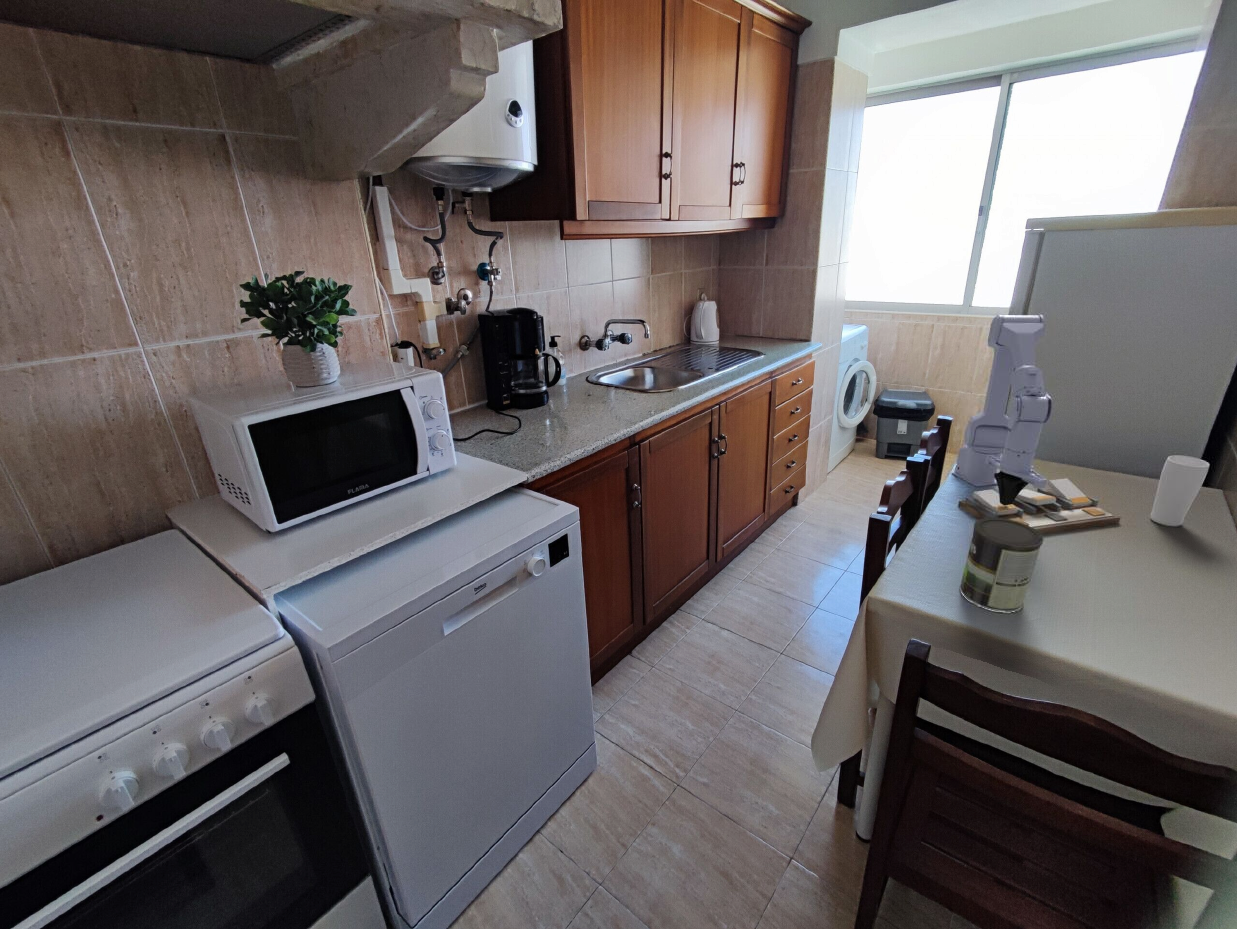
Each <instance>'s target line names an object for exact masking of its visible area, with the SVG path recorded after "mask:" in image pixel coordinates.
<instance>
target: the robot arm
mask: <svg viewBox="0 0 1237 929" xmlns="http://www.w3.org/2000/svg"><path fill="white" fill-rule="evenodd" d="M1046 323H1047V322H1046V318H1045V317H1044V315H1043V314H1037V315H1036V314H1035V315H1033V314H1032V315H1030V314H1028V315H1025V314H1023V315H1021V314H1016V315H1015V314H1005V315H1004V314H997V315H996V316H995V317H993V318H992V322H991V324H990V326H989V333H988V338H987V346H988V347H989V348H992V349H993V352H994V353H993V360H992V364H991V370H990V375H989V380H988V385H987V390H986V395H985V400H984V404H983V406H984V407H983V410H982V411H980V412H978V413H977V414H975V415H973V416H971V417H969V419H968V423H967V426H966V427H965V431H964V439H963V441H964V444H963V445H962V446H961V447H960V448H959V450H958V453H957V457H956V463H955V466H956V467H954V470H952V471H953V473H952V472H951V474H953V475H954V476H956V477H958V478H960V479H961V480H964V481H965V482H967V483H969V484H971V485H972V486H974V487H984V486H992V485H997V488H998V494H999V499H1000V503H1001V504H1003V505H1012V503H1013V501H1014V500H1015V498H1016V497H1017V495H1018V494H1019V493H1020V491H1021V490H1023V489H1025V487H1027V486H1028V485H1029V484H1030V485H1032V486H1033V488H1035V489H1036V490H1038V488H1042V489H1045V488H1046V485H1047V483H1048V479H1047V478H1044V477H1043V476H1041V475H1040V474H1039V473H1038V472H1037V471H1035V470H1034V466H1033V462H1034V459H1035V456H1036V452H1037V448H1038V443H1039V440H1040V436H1041V434H1042V429H1043V425H1044V424H1046V423H1048V422H1049V420H1050V419H1051V416H1052V412H1053V398H1052V397H1051V395H1049V392H1047V391H1045V384H1044V383H1045V382H1044V375H1043V371H1042V369H1040V368H1039V367H1036V346H1037V345H1038V344H1039V342H1040V340H1042V338H1043V336H1044V335H1045V331H1046V325H1047V324H1046ZM1010 390H1011V395H1012V396H1011V397H1012V399H1011V401H1010V404H1009V407H1008V408H1009V410H1008V415H1006V410H1007V406H1008V405H1007V404H1008V400H1009V395H1010ZM956 464H957V465H956ZM998 470H999V472H998Z"/></svg>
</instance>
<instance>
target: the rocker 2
mask: <svg viewBox="0 0 1237 929" xmlns="http://www.w3.org/2000/svg"><path fill="white" fill-rule="evenodd" d="M1046 485H1047V486H1048V487H1049V489H1052V490H1053V491H1054V492H1055V493H1056V494H1057V495H1058V496H1059V497H1061V498H1063V499H1065V500H1067V501H1070V502H1072V503H1074V506H1073V508H1075V507H1083V506H1089V505H1090V504H1091V503H1092V502H1091V501H1090V500H1089V499H1088V498H1087V497H1086V496H1085V495H1086V494H1085V493H1083V492H1082V491H1081V490H1080V489H1079V488H1078V487H1077V486H1076V485H1075V484H1074V483H1073V482H1072V481H1070V480H1069V479H1068V477H1066V478H1059V479H1058V478H1057V479H1049V480H1047V482H1046ZM1084 494H1085V495H1084Z"/></svg>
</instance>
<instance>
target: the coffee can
mask: <svg viewBox="0 0 1237 929" xmlns="http://www.w3.org/2000/svg"><path fill="white" fill-rule="evenodd" d="M1043 542H1044V537H1043V534H1040V533H1039V532H1038V531H1037V530H1035V529H1034V528H1032V527H1030V526H1028V525H1025V524H1023V523H1020V522H1017V521H1013V520H1008V519H1002V518H985V519H978V520H977V521H975V522H974V525H973V532H972V536H971V541H970V545H969V549H968V554H967V557H966V562H965V564H964V570H963V574H962V578H961V583H960V586H959V588H960V590H961V592H962V593H963V594H964V596H965V597H966V598H967V599H968V600H970V601H972V602H973V603H974V604H976V605H980V606H981V607H984V608H987V609H991V610H995V611H1005V612H1012V611H1017V610H1020V609H1021V608H1022V609H1023V608H1024V603H1025V600H1026V596H1027V593H1028V590H1029V589H1028V588H1029V586H1030V582H1031V579H1032V576H1033V572H1034V569H1035V565H1036V563H1037V560H1038V555H1039V552H1040V548H1041V546H1042V545H1043ZM960 590H959V591H960ZM1022 609H1021V610H1022ZM1021 610H1020V611H1021Z"/></svg>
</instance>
